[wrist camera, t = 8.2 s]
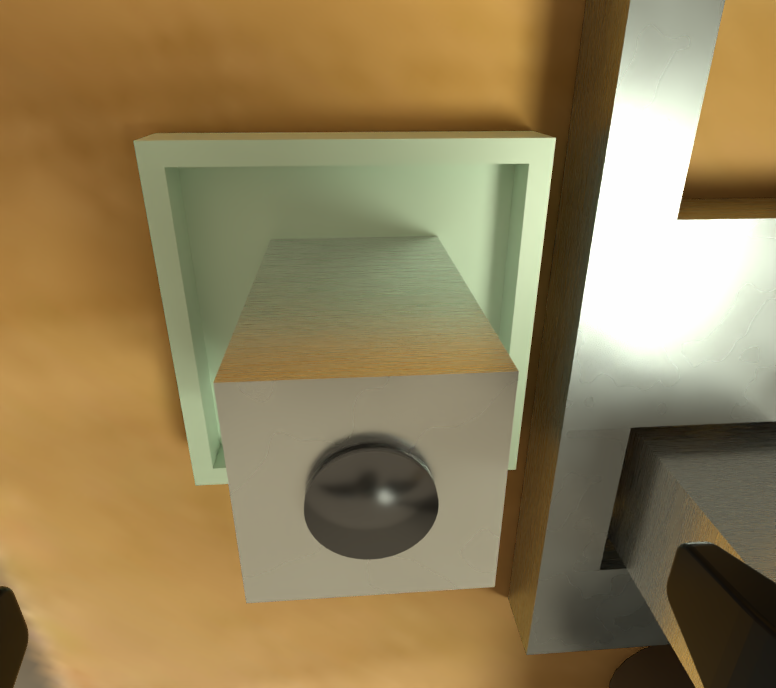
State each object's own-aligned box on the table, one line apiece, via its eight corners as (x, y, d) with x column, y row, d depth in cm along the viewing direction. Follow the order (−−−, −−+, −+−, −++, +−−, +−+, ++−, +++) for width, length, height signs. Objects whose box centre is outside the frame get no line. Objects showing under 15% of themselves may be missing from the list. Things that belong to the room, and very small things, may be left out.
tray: (501, 437, 20) (515, 469, 18) (207, 450, 19) (195, 485, 17) (533, 130, 16) (556, 137, 14) (155, 132, 15) (133, 140, 13)
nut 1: (431, 380, 18) (498, 600, 10) (283, 385, 18) (243, 617, 10) (437, 235, 16) (524, 381, 8) (270, 239, 16) (208, 393, 8)
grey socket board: (741, 583, 24) (782, 636, 22) (508, 598, 23) (526, 654, 21) (1051, -250, 13) (1202, -318, 11) (621, -270, 12) (686, -348, 10)
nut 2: (705, 498, 22) (896, 719, 14) (589, 504, 22) (722, 734, 14) (738, 394, 20) (977, 588, 12) (610, 399, 20) (777, 602, 12)
